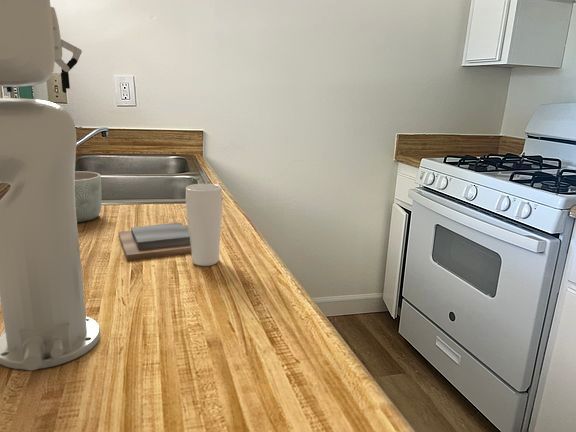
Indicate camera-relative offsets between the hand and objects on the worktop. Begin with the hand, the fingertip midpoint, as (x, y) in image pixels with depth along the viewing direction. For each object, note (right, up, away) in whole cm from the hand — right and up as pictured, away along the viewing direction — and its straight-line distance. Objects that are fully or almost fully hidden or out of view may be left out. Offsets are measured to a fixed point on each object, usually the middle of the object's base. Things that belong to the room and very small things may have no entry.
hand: (37, 92), depth 95 cm
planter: (-4, -25, +26) cm, 37 cm away
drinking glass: (+33, -34, -1) cm, 47 cm away
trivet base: (+22, -30, +9) cm, 39 cm away
